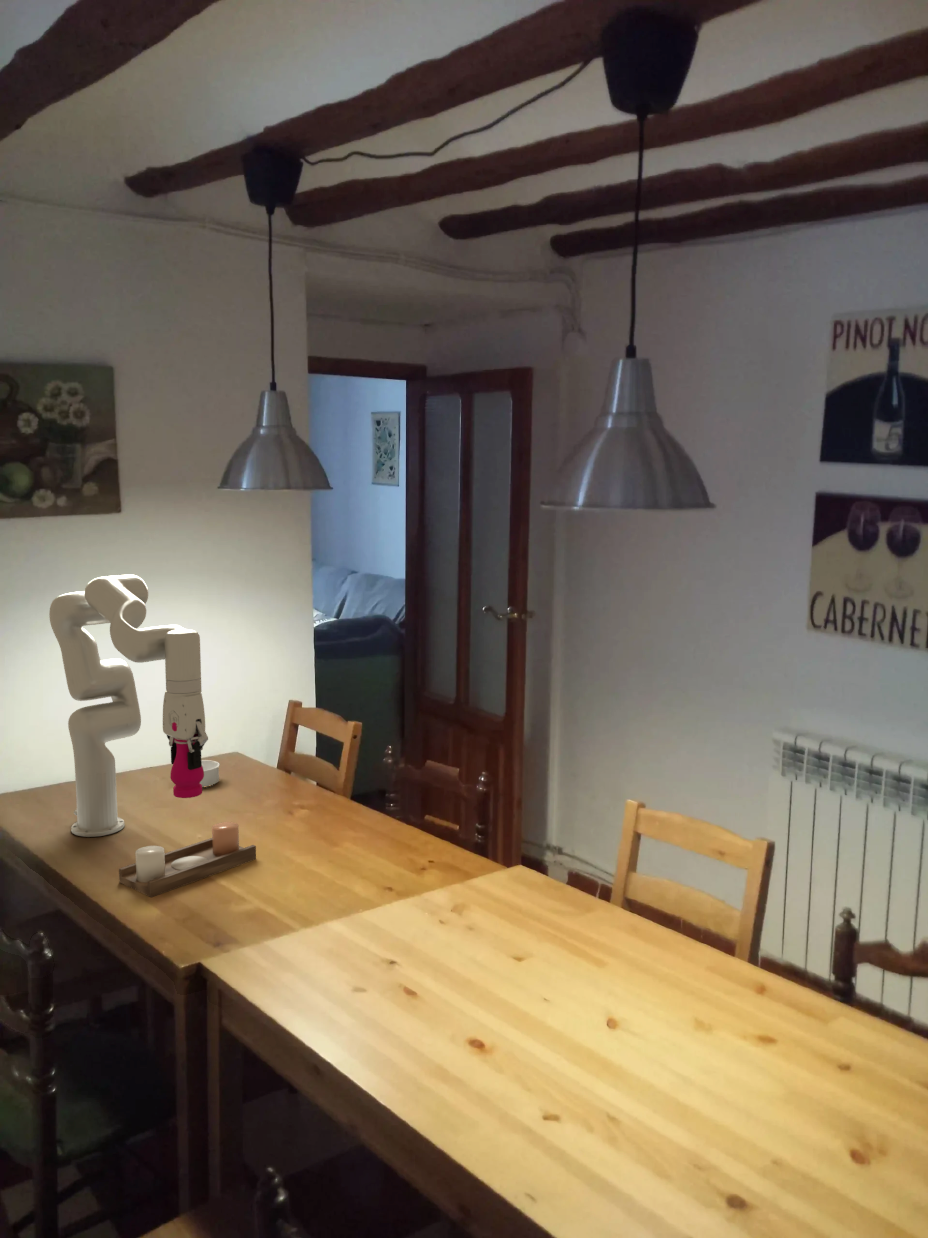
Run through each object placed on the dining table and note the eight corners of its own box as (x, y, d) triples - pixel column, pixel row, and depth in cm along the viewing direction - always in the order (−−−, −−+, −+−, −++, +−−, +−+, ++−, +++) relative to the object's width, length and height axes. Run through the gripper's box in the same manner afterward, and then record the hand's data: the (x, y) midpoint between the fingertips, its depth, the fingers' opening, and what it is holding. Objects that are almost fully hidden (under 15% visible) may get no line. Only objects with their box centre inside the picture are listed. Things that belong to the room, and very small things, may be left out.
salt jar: (131, 877, 217) (129, 851, 217) (155, 869, 222) (154, 843, 221) (146, 885, 214) (145, 858, 213) (170, 876, 218) (169, 850, 217)
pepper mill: (184, 801, 218) (181, 712, 215) (164, 794, 222) (160, 707, 219) (211, 793, 224) (208, 706, 221) (190, 786, 228) (187, 701, 225)
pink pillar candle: (207, 851, 233) (206, 827, 232) (228, 844, 237) (227, 820, 236) (223, 858, 229) (222, 833, 228) (244, 850, 234) (243, 826, 233)
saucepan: (202, 769, 304) (201, 751, 303) (226, 786, 287) (225, 767, 286) (164, 775, 297) (164, 757, 296) (187, 793, 281) (186, 773, 280)
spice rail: (119, 882, 219) (118, 868, 218) (224, 846, 240) (223, 834, 240) (151, 897, 211) (150, 883, 211) (256, 859, 233) (255, 846, 232)
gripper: (146, 683, 222) (149, 762, 225) (192, 694, 211) (195, 777, 214) (175, 678, 228) (177, 755, 230) (221, 689, 217) (224, 769, 220)
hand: (186, 765), depth 222 cm, fingers closed on pepper mill, 5 cm apart
